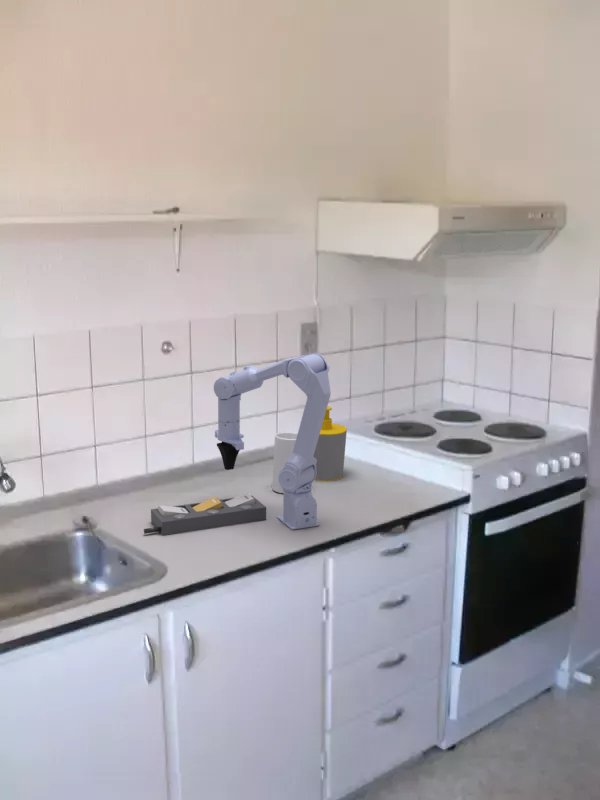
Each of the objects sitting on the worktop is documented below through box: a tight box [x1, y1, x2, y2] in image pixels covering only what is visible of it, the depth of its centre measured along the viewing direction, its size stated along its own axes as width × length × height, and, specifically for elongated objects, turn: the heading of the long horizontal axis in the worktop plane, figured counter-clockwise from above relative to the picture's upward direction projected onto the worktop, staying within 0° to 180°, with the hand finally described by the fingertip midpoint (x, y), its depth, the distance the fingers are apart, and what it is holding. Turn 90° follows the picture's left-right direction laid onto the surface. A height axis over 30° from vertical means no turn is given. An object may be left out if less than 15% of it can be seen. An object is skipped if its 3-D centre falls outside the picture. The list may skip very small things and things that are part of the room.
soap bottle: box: [314, 406, 348, 482], centre depth 269 cm, size 13×13×21 cm
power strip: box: [143, 495, 267, 536], centre depth 231 cm, size 10×32×4 cm, turn 115°
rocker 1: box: [157, 504, 189, 516], centre depth 230 cm, size 5×7×2 cm
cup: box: [271, 431, 298, 494], centre depth 256 cm, size 8×8×16 cm
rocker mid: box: [192, 496, 223, 512], centre depth 233 cm, size 5×7×2 cm
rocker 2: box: [224, 492, 255, 507], centre depth 237 cm, size 5×7×2 cm
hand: (229, 469), depth 242 cm, fingers closed
